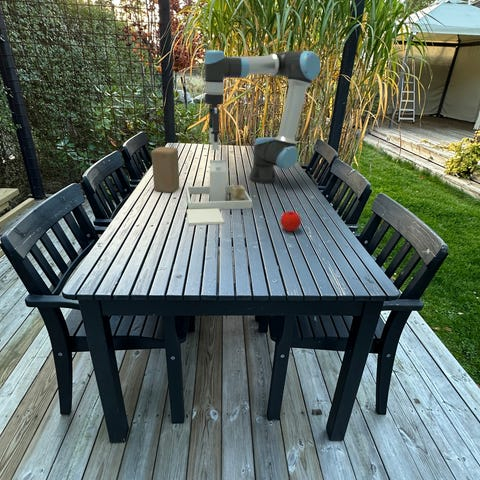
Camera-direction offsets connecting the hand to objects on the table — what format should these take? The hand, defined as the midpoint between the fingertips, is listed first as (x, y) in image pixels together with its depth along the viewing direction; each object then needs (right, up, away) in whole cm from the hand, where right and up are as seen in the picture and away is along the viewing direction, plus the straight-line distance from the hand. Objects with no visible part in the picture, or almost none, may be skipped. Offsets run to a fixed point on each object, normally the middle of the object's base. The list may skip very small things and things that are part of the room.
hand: (213, 146), depth 147 cm
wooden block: (-25, -16, +22) cm, 37 cm away
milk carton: (+1, -23, +10) cm, 25 cm away
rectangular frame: (+1, -23, +10) cm, 25 cm away
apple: (+31, -37, -14) cm, 50 cm away
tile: (-3, -32, -8) cm, 33 cm away
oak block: (+10, -24, +8) cm, 28 cm away
